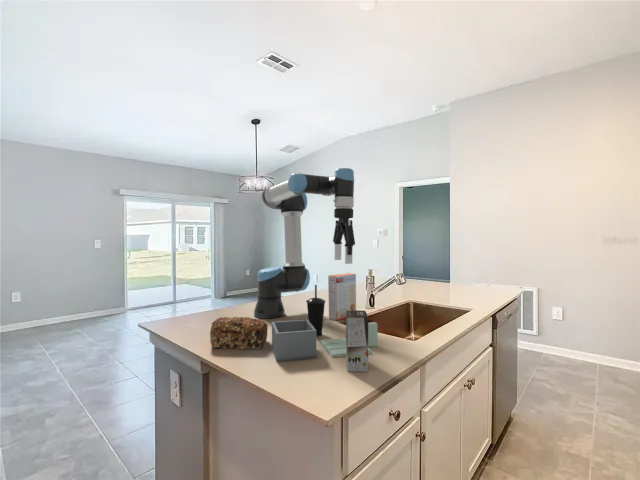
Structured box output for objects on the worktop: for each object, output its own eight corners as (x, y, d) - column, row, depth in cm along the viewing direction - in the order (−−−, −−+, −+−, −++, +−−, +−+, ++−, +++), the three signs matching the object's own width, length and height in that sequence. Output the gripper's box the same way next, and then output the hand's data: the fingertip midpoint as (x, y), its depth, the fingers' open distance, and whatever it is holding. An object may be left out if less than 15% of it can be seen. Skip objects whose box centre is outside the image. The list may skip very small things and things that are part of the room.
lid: (320, 342, 122) (320, 321, 121) (368, 338, 126) (368, 317, 126) (331, 357, 107) (331, 333, 107) (385, 352, 112) (385, 328, 111)
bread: (209, 349, 115) (209, 321, 114) (220, 339, 125) (220, 313, 125) (261, 350, 113) (261, 322, 113) (268, 340, 124) (268, 314, 124)
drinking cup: (323, 338, 126) (323, 286, 126) (304, 337, 128) (304, 286, 127) (327, 332, 134) (327, 283, 133) (308, 331, 135) (308, 283, 135)
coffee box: (369, 372, 95) (369, 317, 95) (347, 372, 96) (347, 317, 95) (365, 360, 104) (365, 310, 104) (345, 359, 105) (345, 310, 104)
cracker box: (347, 313, 165) (347, 272, 165) (356, 316, 161) (356, 273, 161) (327, 318, 156) (327, 274, 156) (336, 321, 151) (336, 276, 151)
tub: (271, 347, 117) (271, 321, 116) (307, 344, 120) (307, 319, 120) (276, 361, 103) (276, 333, 103) (316, 358, 106) (316, 330, 106)
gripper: (326, 209, 141) (325, 258, 141) (344, 206, 116) (343, 265, 117) (343, 209, 142) (342, 258, 143) (364, 206, 118) (363, 265, 119)
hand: (342, 261), depth 130 cm, fingers open, 13 cm apart
